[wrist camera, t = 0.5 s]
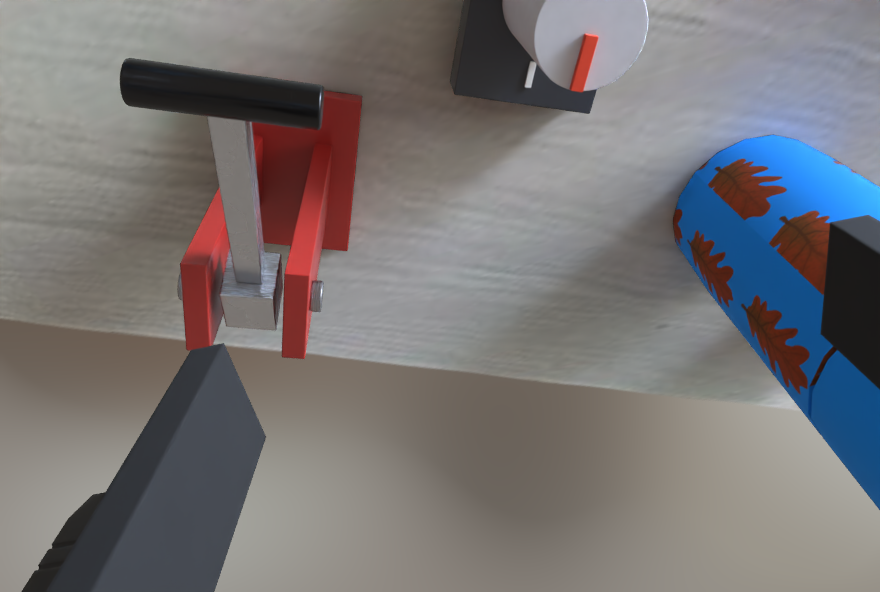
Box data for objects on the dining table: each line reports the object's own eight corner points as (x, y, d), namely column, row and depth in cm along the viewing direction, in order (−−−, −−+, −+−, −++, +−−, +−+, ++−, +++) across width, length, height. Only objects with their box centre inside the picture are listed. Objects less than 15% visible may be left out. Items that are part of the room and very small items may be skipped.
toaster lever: (132, 34, 18) (109, 92, 17) (326, 63, 19) (318, 120, 18) (197, 278, 29) (187, 324, 28) (318, 289, 30) (313, 334, 29)
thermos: (664, 284, 46) (893, 613, 26) (675, 147, 40) (985, 435, 20) (810, 261, 46) (1156, 573, 26) (843, 120, 40) (1330, 381, 20)
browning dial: (513, -61, 31) (552, -42, 24) (605, -44, 32) (668, -20, 25) (493, 41, 33) (522, 85, 27) (578, 54, 34) (628, 101, 27)
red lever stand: (221, 75, 36) (131, 193, 23) (362, 95, 37) (353, 217, 24) (225, 230, 41) (154, 396, 28) (348, 242, 42) (334, 407, 29)
